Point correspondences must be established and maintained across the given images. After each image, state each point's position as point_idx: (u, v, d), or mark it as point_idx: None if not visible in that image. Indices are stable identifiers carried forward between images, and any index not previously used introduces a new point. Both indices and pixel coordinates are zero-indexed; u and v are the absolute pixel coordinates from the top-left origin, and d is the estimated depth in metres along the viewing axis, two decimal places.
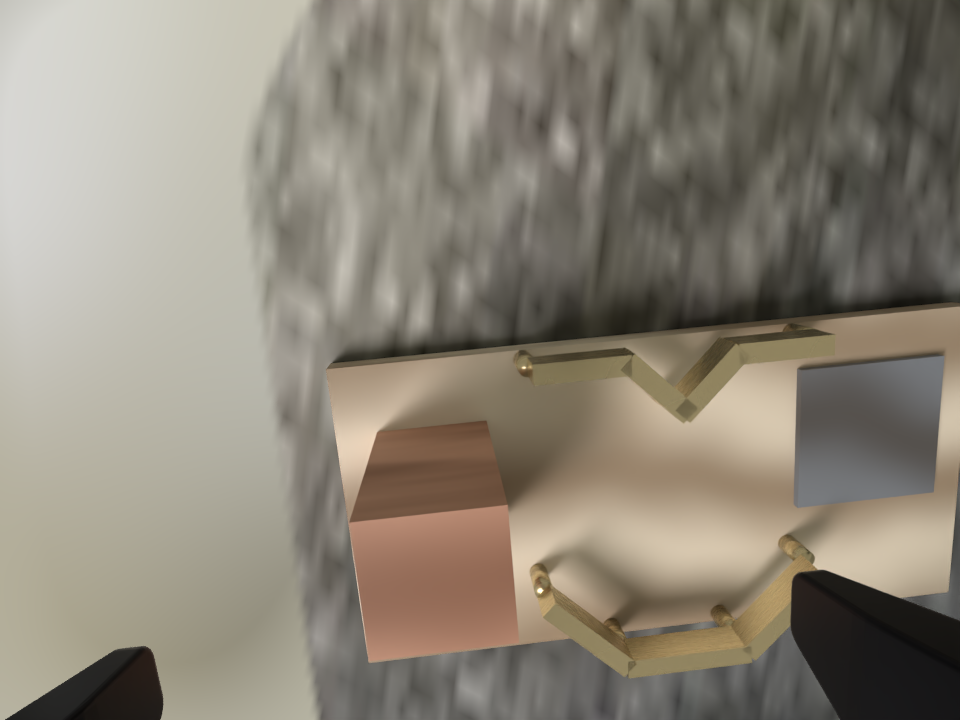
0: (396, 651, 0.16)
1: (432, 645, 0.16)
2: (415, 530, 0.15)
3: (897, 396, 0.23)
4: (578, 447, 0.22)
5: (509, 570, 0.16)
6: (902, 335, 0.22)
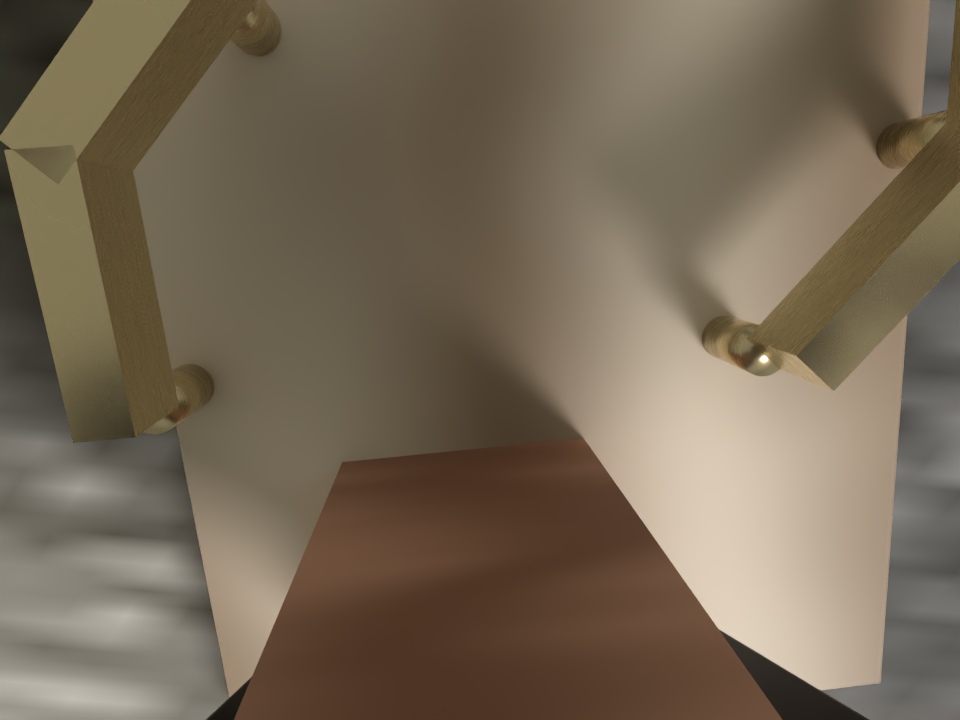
0: None
1: None
2: None
3: None
4: (408, 245, 0.09)
5: None
6: None
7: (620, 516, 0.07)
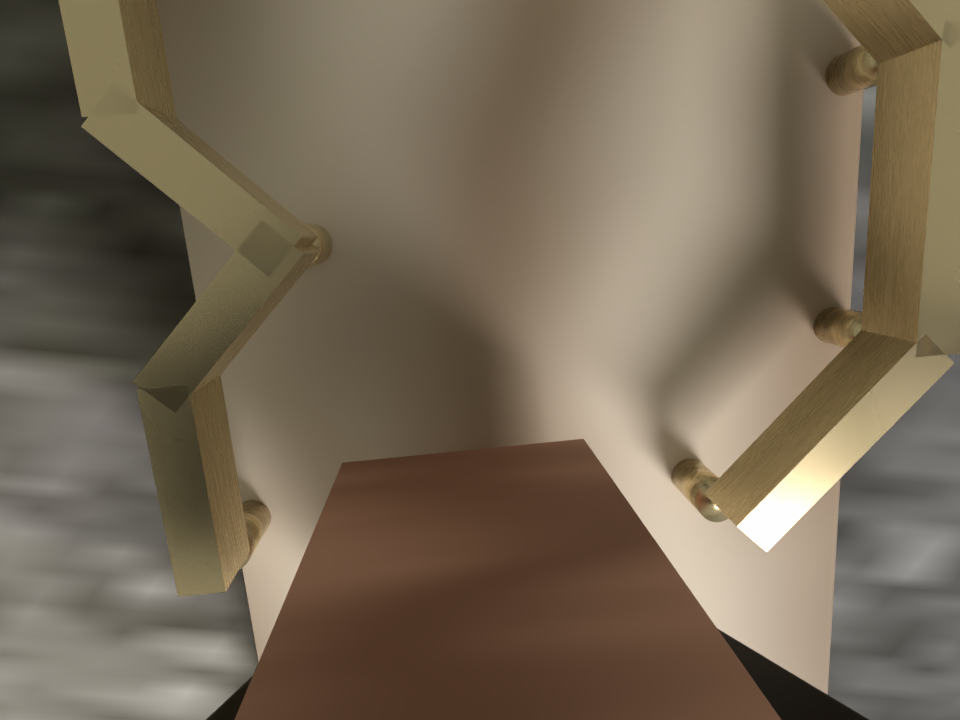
0: None
1: None
2: None
3: None
4: (431, 406, 0.11)
5: None
6: None
7: (620, 517, 0.07)
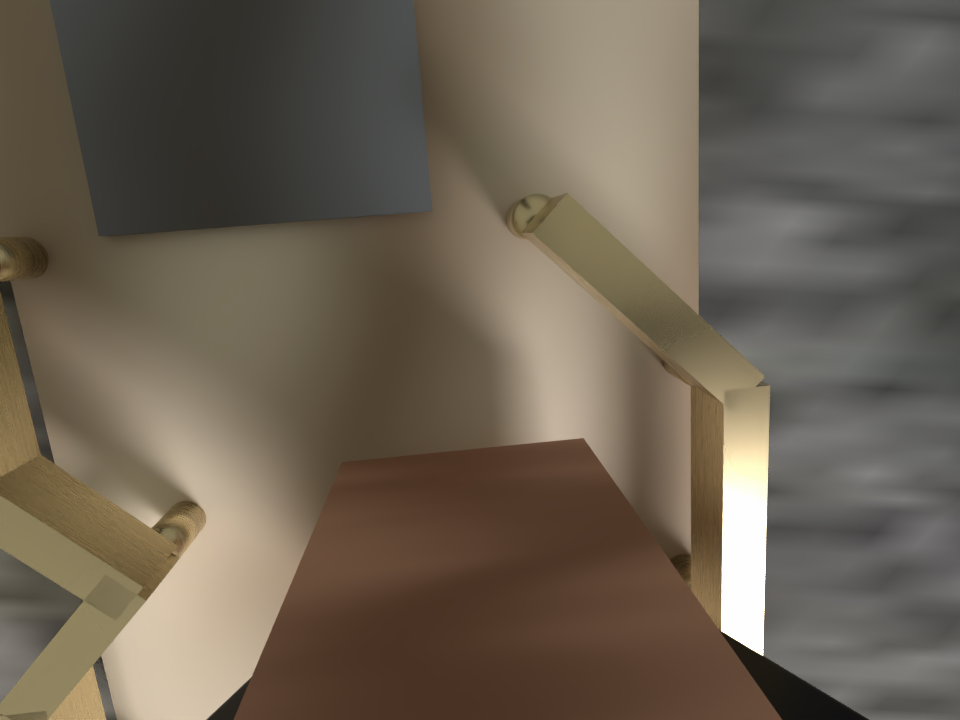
0: None
1: None
2: None
3: None
4: None
5: None
6: None
7: (620, 516, 0.07)
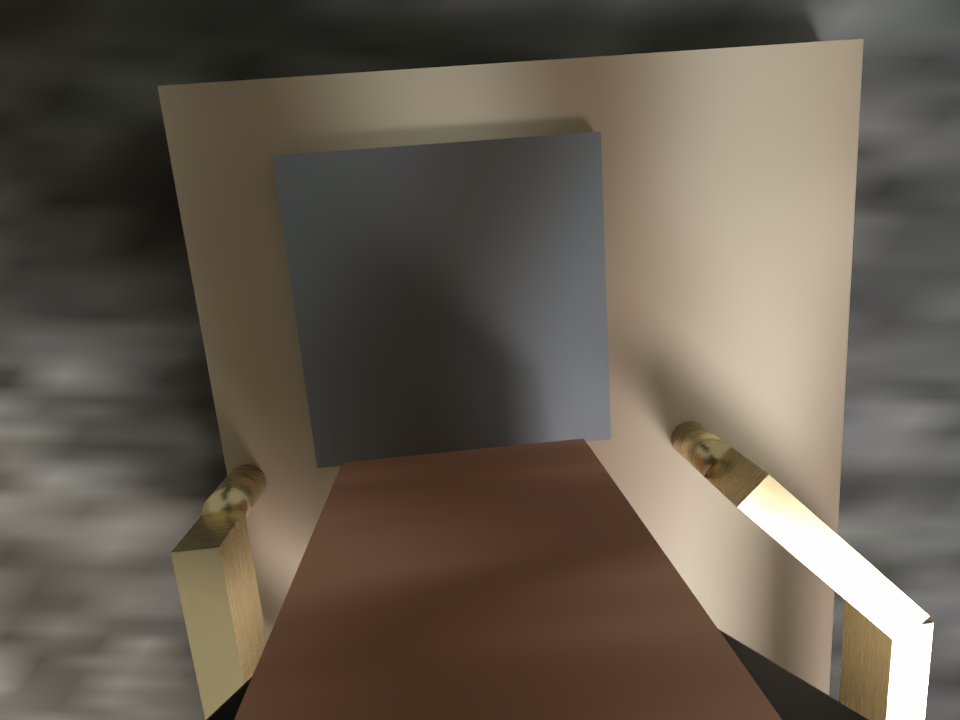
0: None
1: None
2: None
3: (369, 255, 0.10)
4: None
5: None
6: (238, 248, 0.10)
7: (620, 517, 0.07)
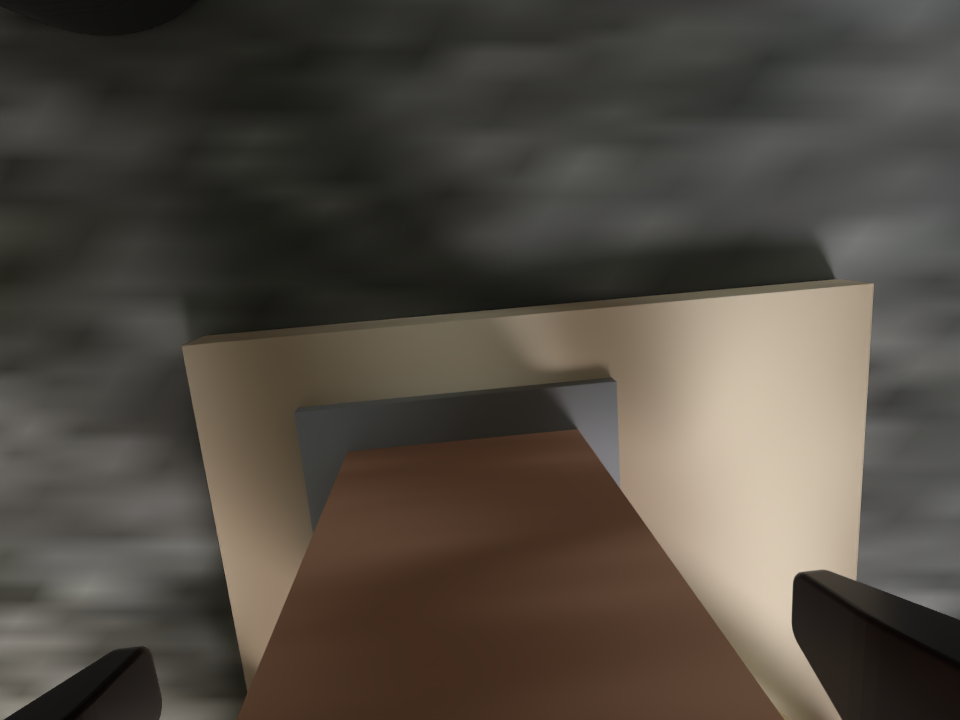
0: None
1: None
2: None
3: None
4: None
5: None
6: (260, 490, 0.11)
7: (610, 499, 0.08)
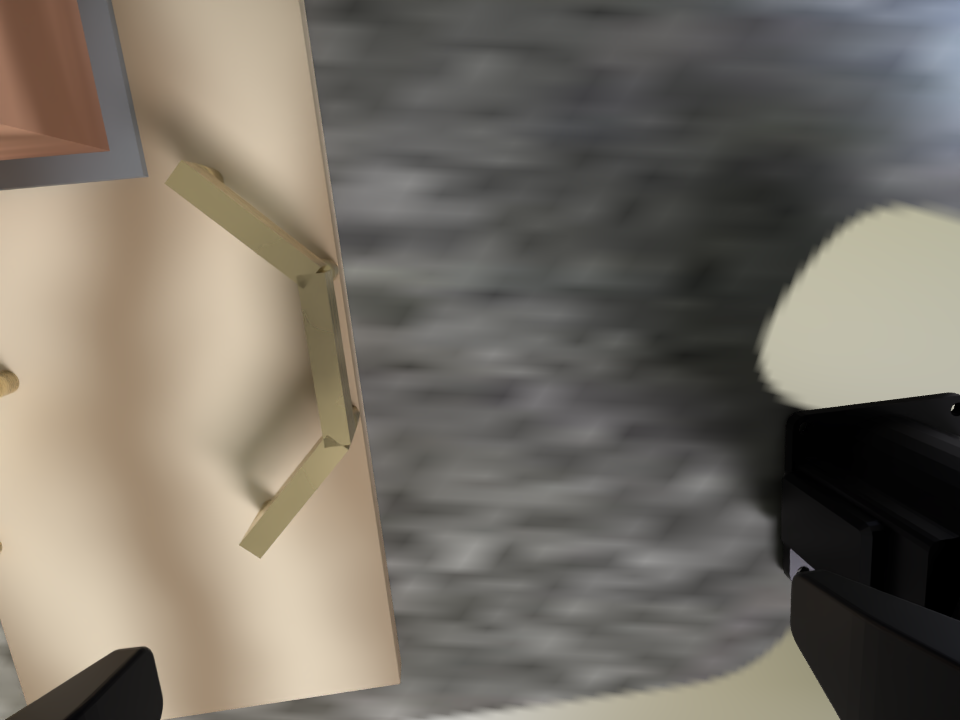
0: None
1: None
2: None
3: None
4: (97, 474, 0.18)
5: None
6: None
7: None
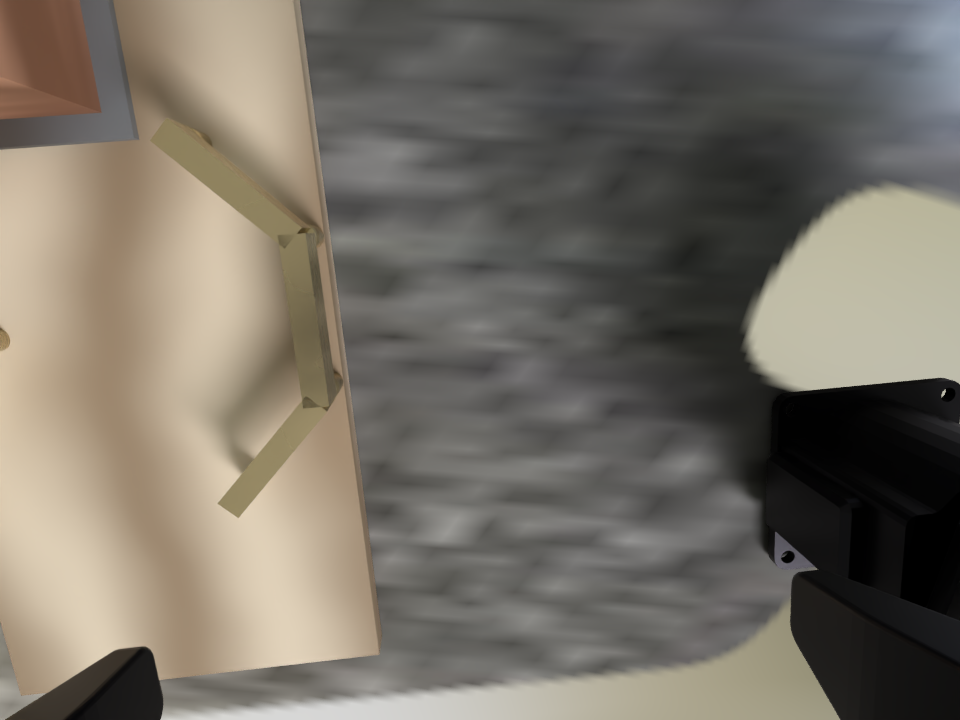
0: None
1: None
2: None
3: None
4: (83, 434, 0.18)
5: None
6: None
7: None
